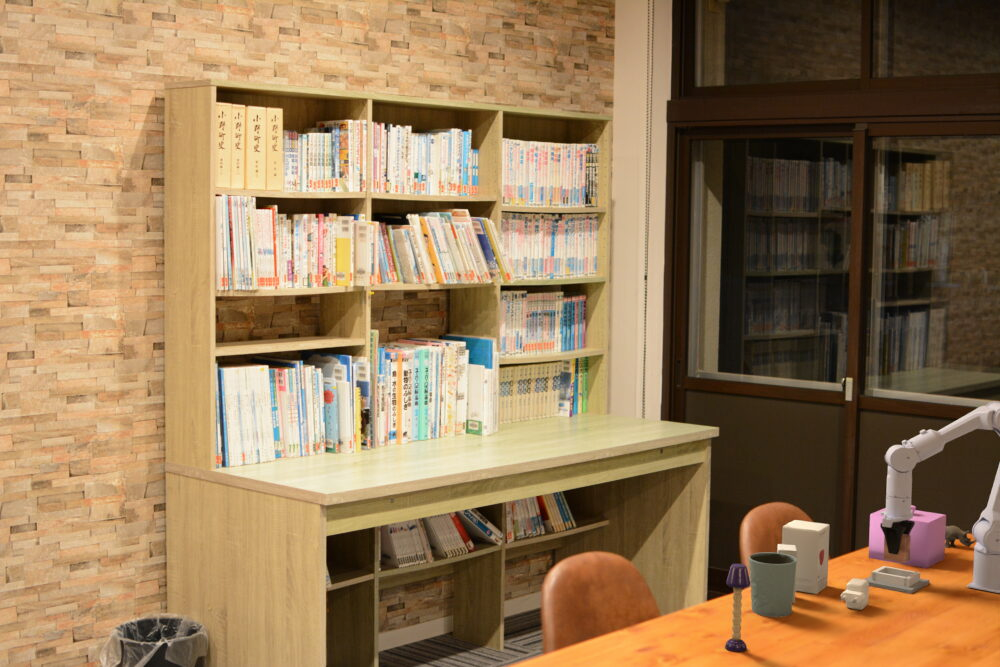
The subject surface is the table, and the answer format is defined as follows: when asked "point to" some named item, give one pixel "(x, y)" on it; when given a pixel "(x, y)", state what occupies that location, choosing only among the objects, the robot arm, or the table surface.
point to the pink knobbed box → (913, 538)
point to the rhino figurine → (956, 536)
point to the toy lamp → (737, 604)
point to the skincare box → (790, 551)
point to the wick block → (903, 551)
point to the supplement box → (809, 553)
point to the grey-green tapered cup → (772, 583)
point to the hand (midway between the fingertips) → (896, 552)
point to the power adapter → (856, 594)
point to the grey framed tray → (896, 579)
